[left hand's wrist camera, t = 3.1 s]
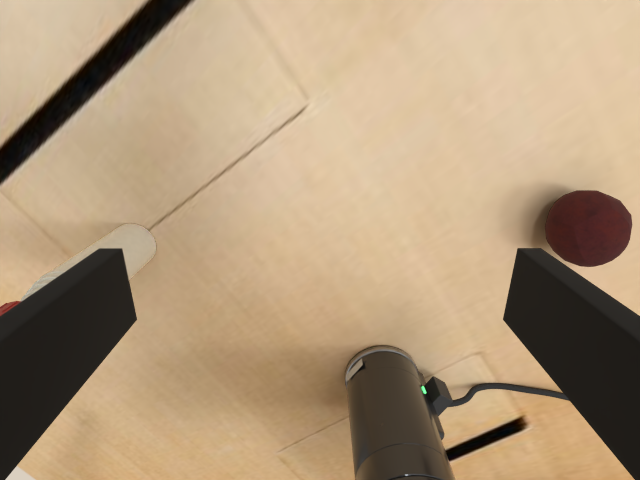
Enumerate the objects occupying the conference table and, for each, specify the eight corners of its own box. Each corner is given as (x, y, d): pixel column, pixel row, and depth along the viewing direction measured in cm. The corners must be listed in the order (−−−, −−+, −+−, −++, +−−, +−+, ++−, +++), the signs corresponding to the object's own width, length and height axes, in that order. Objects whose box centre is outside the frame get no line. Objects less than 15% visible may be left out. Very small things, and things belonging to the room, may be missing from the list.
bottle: (165, 250, 43) (65, 349, 26) (132, 271, 43) (15, 379, 27) (136, 215, 41) (10, 296, 24) (102, 237, 42) (-41, 330, 25)
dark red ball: (546, 260, 43) (587, 290, 36) (519, 206, 40) (558, 227, 34) (609, 227, 41) (664, 251, 35) (585, 168, 39) (639, 183, 32)
